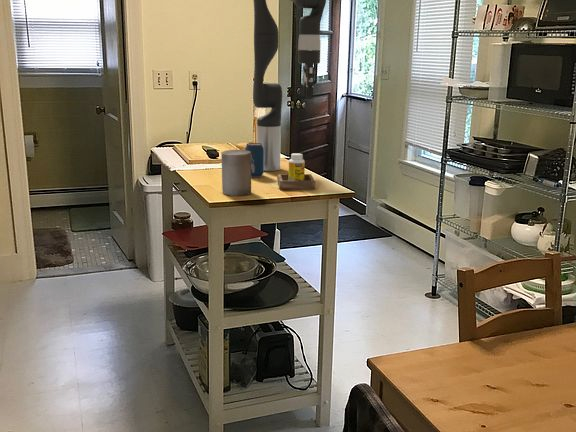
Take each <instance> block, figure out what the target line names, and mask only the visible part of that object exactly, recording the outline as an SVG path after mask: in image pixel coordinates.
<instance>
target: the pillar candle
mask: <svg viewBox="0 0 576 432" xmlns="http://www.w3.org/2000/svg"><path fill="white" fill-rule="evenodd" d="M220 153H221V183H222V185H221V188H222V191H221V192H222V195H227V196H231V197H240V196H241V197H243V196H248V195H250V194H252V177H251V152H250V151H247V150H245V149H238V148H237V147H236V149H228V150H227V149H226V150H224V151H221V152H220Z"/></svg>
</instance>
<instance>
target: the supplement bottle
mask: <svg viewBox="0 0 576 432" xmlns="http://www.w3.org/2000/svg"><path fill="white" fill-rule="evenodd" d="M305 166H306V163H305V159H304V155H303V153H298V152H297V153H296V152H295V153H291V156H290V159H288V174H289V177H288V181H304V174H306V173H305V172H306V171H305V169H306V168H305Z"/></svg>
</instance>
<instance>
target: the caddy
mask: <svg viewBox="0 0 576 432" xmlns="http://www.w3.org/2000/svg"><path fill="white" fill-rule="evenodd" d="M288 177H289V173H287V174H286V173H285V174H284V173H280V174H279V173H277V186H278V187H279V191H300V190H301V191H306V190H307V191H315V190H316V180H315V178H314V177H313V175H312V174H311V173H308V174H307V173H304V181H288Z"/></svg>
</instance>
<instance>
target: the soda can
mask: <svg viewBox="0 0 576 432" xmlns="http://www.w3.org/2000/svg"><path fill="white" fill-rule="evenodd" d="M244 150H247V151H250V152H251V178H261V177H263V174H264V172H265V171H264V149H263V146H262V144H261V143H257V142H248V143H246V146H245V148H244Z"/></svg>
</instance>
